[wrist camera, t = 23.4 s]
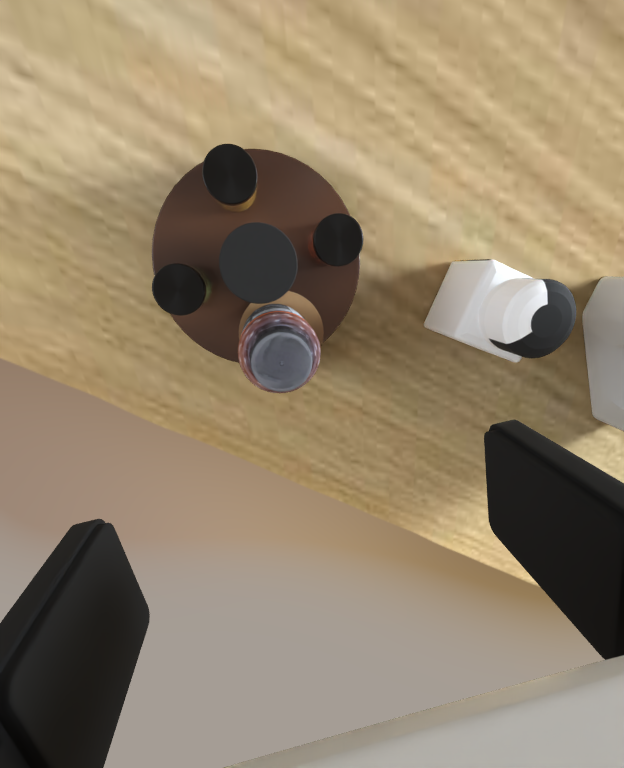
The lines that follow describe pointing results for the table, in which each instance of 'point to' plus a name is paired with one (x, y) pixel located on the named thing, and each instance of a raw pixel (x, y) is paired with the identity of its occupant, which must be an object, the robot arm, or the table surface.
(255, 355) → the supplement bottle
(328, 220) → the spice rack
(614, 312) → the white triangular tub
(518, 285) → the medicine bottle
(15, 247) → the table surface
